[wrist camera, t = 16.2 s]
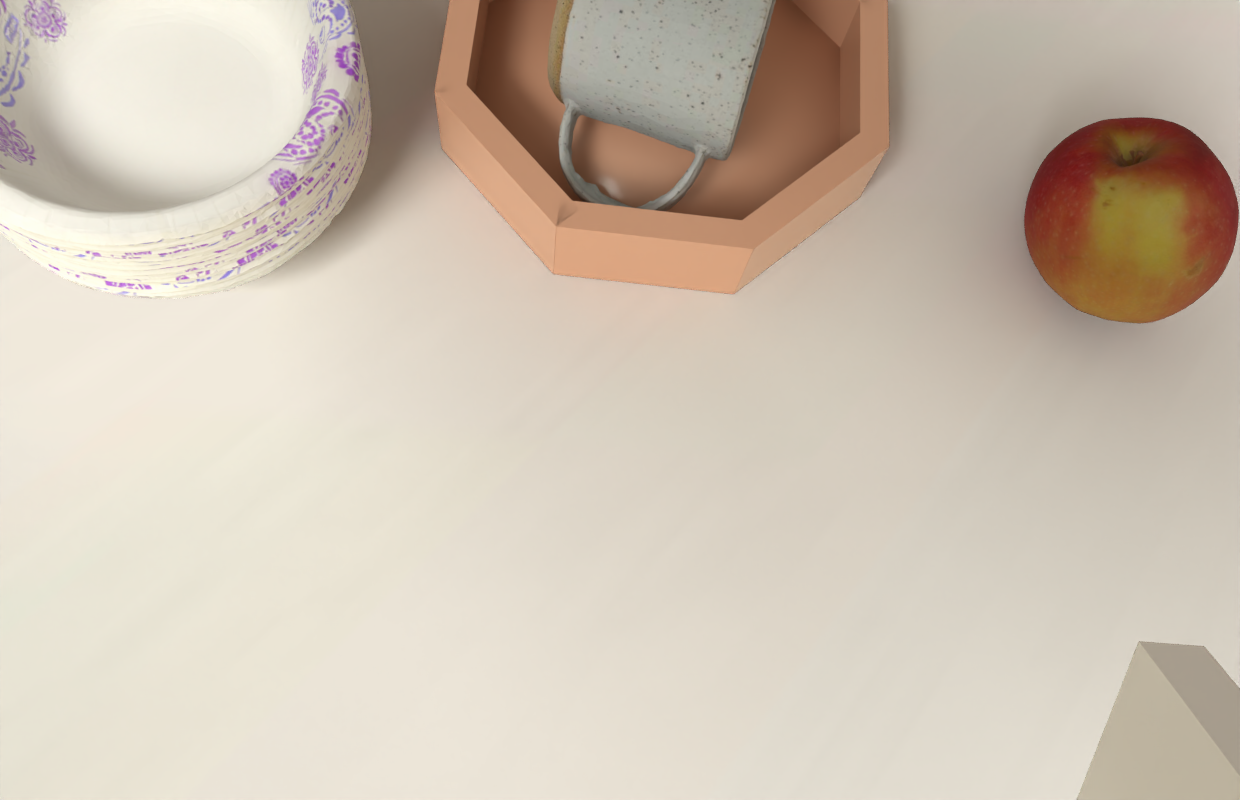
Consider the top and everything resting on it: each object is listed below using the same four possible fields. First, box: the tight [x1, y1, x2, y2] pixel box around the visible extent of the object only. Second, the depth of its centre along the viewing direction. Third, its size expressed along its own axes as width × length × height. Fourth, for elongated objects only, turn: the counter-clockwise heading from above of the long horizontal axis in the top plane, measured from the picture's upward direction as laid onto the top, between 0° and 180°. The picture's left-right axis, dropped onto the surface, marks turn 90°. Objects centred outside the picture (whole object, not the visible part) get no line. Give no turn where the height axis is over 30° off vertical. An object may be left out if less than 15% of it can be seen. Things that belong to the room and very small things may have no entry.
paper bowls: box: [0, 0, 372, 299], centre depth 40 cm, size 15×15×8 cm
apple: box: [1024, 118, 1239, 323], centre depth 42 cm, size 8×8×8 cm
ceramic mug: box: [547, 0, 776, 212], centre depth 41 cm, size 11×8×8 cm
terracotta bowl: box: [434, 0, 889, 294], centre depth 45 cm, size 18×18×4 cm
